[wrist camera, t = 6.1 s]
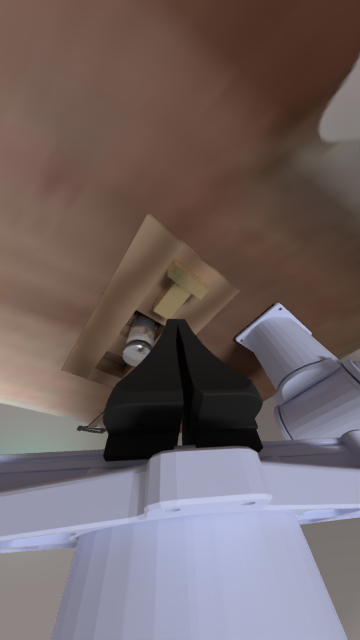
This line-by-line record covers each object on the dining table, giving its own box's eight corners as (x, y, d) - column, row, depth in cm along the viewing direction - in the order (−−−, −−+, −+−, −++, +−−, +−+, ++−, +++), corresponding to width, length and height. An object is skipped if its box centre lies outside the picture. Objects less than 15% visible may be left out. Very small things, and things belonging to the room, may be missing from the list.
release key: (204, 282, 17) (208, 290, 16) (175, 315, 20) (176, 326, 18) (174, 259, 16) (175, 265, 14) (146, 298, 18) (144, 307, 16)
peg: (160, 317, 23) (158, 354, 17) (148, 331, 24) (142, 370, 18) (141, 306, 21) (131, 341, 16) (129, 321, 23) (116, 359, 17)
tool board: (232, 283, 20) (239, 291, 18) (136, 382, 30) (134, 394, 28) (150, 213, 16) (147, 214, 14) (69, 356, 26) (60, 369, 24)
